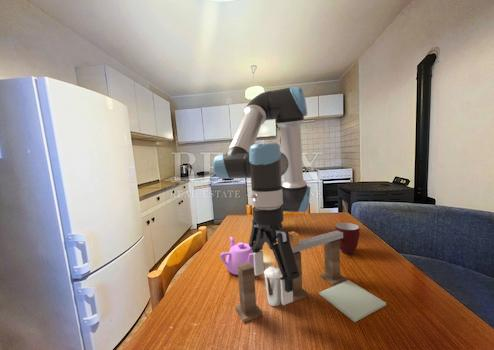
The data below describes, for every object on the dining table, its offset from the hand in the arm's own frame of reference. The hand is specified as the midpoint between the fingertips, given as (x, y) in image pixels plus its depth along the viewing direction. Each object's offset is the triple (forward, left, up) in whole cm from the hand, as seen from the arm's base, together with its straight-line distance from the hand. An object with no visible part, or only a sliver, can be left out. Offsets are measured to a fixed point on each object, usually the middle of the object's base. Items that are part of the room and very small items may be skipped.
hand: (271, 286), depth 56 cm
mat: (+9, +18, -4) cm, 21 cm away
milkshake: (0, 0, -5) cm, 5 cm away
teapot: (-20, 0, -5) cm, 21 cm away
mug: (-9, +37, -5) cm, 38 cm away
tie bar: (0, +15, +8) cm, 17 cm away
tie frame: (0, +7, -4) cm, 8 cm away
